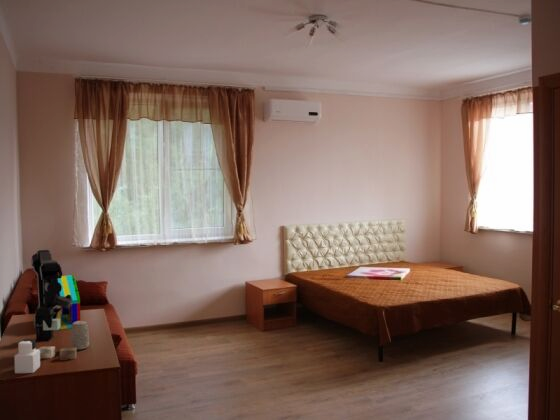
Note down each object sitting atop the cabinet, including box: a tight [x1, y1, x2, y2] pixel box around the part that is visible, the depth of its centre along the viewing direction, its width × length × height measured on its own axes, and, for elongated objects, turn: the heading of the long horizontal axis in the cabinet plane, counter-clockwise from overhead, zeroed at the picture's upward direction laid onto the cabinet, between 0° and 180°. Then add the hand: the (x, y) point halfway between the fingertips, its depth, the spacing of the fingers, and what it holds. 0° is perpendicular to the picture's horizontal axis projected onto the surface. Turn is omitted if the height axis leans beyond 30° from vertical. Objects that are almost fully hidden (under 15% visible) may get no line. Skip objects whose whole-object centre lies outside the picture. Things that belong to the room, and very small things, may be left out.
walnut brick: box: [59, 347, 78, 361], centre depth 213 cm, size 6×4×4 cm, turn 103°
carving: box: [70, 320, 90, 351], centre depth 224 cm, size 6×8×12 cm
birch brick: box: [36, 346, 56, 359], centre depth 214 cm, size 6×4×4 cm, turn 91°
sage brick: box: [43, 319, 60, 331], centre depth 219 cm, size 6×4×4 cm, turn 94°
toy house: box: [53, 274, 81, 332], centre depth 264 cm, size 24×14×25 cm, turn 35°
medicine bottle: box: [13, 338, 41, 374], centre depth 199 cm, size 7×7×12 cm
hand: (51, 326), depth 219 cm, fingers closed on sage brick, 3 cm apart
